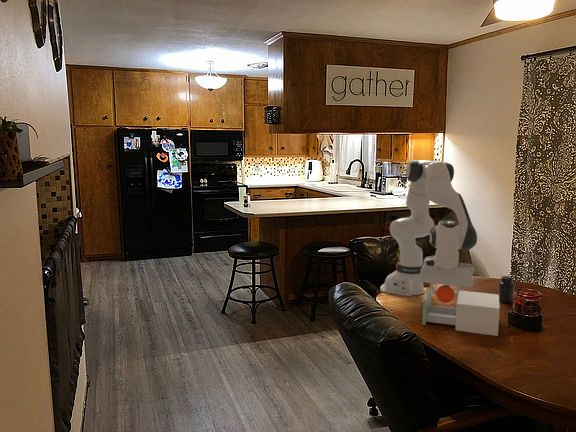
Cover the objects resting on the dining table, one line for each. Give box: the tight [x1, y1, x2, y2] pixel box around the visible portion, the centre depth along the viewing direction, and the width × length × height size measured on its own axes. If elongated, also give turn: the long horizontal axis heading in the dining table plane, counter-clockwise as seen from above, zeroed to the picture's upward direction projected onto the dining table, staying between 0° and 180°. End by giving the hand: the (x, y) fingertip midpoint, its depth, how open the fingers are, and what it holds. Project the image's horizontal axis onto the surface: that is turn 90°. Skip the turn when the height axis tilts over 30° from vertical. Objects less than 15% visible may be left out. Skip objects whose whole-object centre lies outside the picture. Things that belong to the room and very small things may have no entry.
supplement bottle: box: [497, 275, 515, 304], centre depth 226 cm, size 7×7×12 cm
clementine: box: [435, 284, 455, 304], centre depth 188 cm, size 8×7×7 cm
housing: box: [455, 290, 500, 337], centre depth 198 cm, size 16×18×12 cm
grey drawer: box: [420, 287, 456, 326], centre depth 204 cm, size 16×18×11 cm
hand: (445, 294), depth 188 cm, fingers closed on clementine, 7 cm apart
